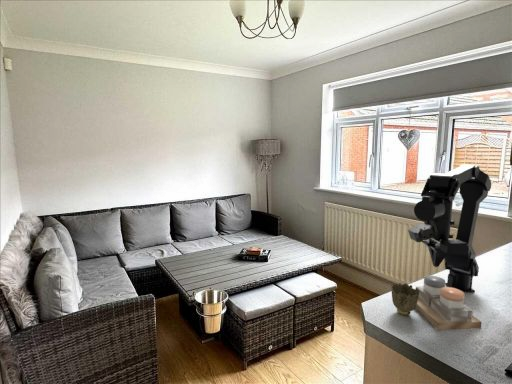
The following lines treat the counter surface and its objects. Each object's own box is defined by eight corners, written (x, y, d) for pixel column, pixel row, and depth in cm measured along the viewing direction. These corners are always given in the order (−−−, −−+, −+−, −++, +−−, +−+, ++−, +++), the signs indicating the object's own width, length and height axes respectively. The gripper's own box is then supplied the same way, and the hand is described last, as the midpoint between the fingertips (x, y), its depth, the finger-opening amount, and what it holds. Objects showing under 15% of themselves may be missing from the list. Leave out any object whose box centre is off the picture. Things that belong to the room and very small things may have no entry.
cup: (384, 309, 93) (385, 284, 92) (402, 305, 95) (404, 281, 94) (403, 322, 86) (405, 296, 85) (423, 317, 88) (425, 291, 87)
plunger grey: (436, 288, 97) (437, 275, 96) (448, 297, 91) (449, 283, 91) (419, 288, 97) (420, 275, 96) (430, 297, 91) (431, 283, 90)
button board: (442, 299, 99) (444, 285, 98) (480, 328, 83) (482, 311, 82) (406, 300, 98) (407, 285, 98) (437, 330, 82) (439, 312, 82)
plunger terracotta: (453, 301, 89) (455, 286, 88) (467, 311, 83) (469, 296, 83) (435, 301, 89) (436, 287, 88) (447, 311, 83) (449, 296, 82)
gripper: (397, 210, 99) (394, 256, 102) (432, 224, 81) (428, 280, 83) (430, 209, 100) (427, 255, 102) (473, 223, 81) (467, 279, 84)
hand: (435, 266), depth 93 cm, fingers closed
